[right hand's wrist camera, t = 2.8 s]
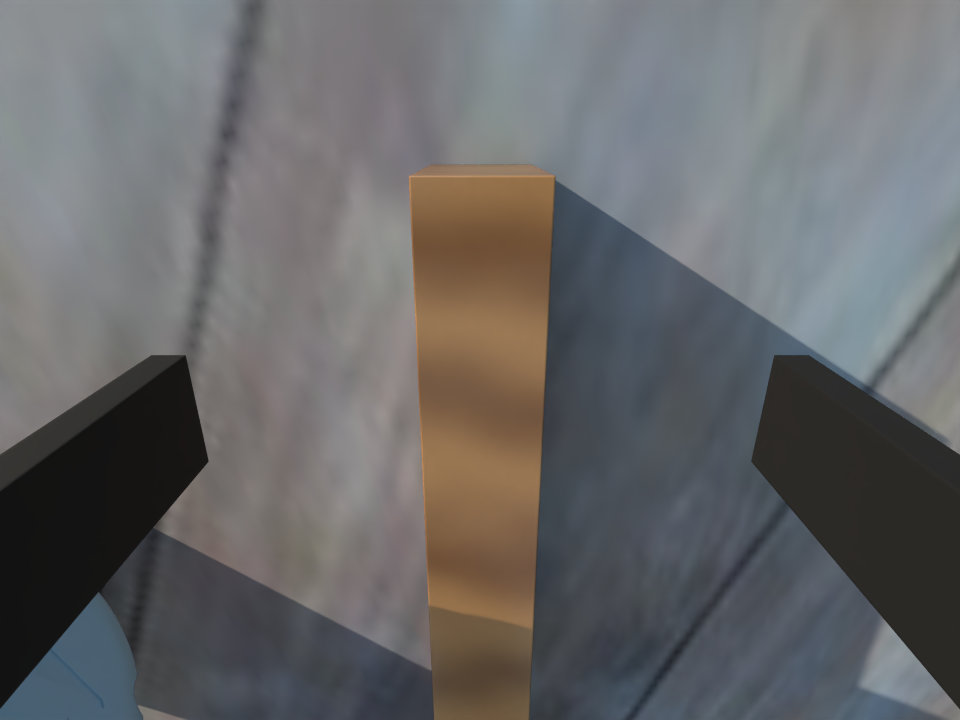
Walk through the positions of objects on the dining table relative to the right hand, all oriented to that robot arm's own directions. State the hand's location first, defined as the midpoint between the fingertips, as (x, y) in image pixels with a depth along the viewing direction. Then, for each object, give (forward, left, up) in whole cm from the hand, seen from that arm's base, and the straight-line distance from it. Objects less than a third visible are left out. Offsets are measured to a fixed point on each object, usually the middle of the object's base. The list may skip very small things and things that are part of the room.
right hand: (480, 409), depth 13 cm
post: (+2, +22, -14) cm, 26 cm away
